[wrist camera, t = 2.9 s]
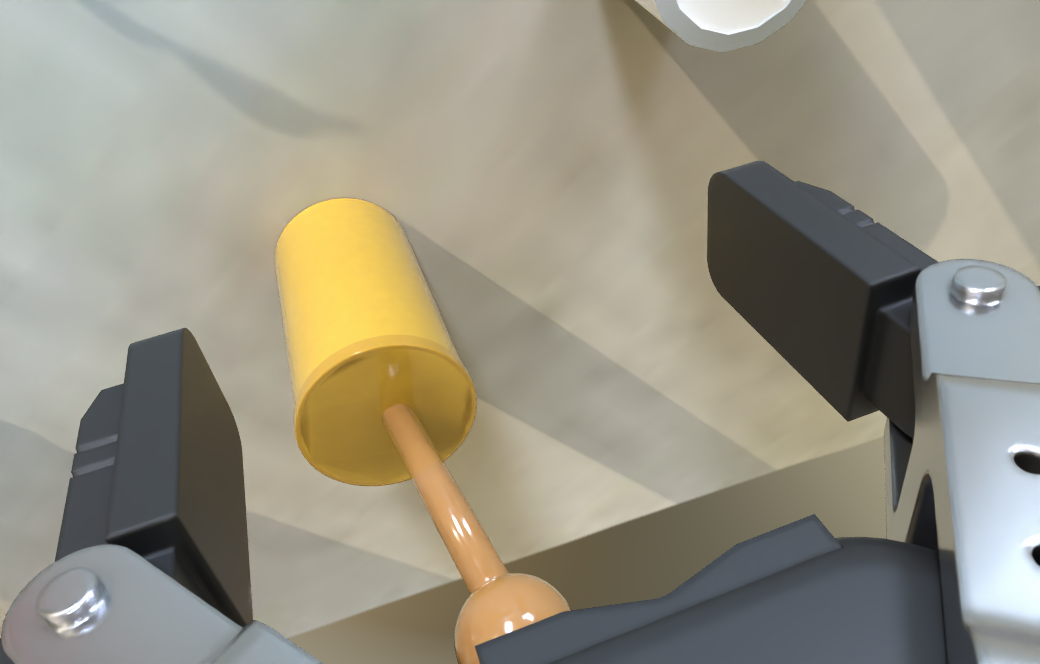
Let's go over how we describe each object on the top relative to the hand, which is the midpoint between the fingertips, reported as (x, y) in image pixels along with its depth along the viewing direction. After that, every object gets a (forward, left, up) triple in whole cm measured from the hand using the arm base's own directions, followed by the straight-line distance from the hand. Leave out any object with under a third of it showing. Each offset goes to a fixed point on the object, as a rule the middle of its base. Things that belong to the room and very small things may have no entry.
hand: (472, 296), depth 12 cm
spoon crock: (-2, -11, -21) cm, 24 cm away
